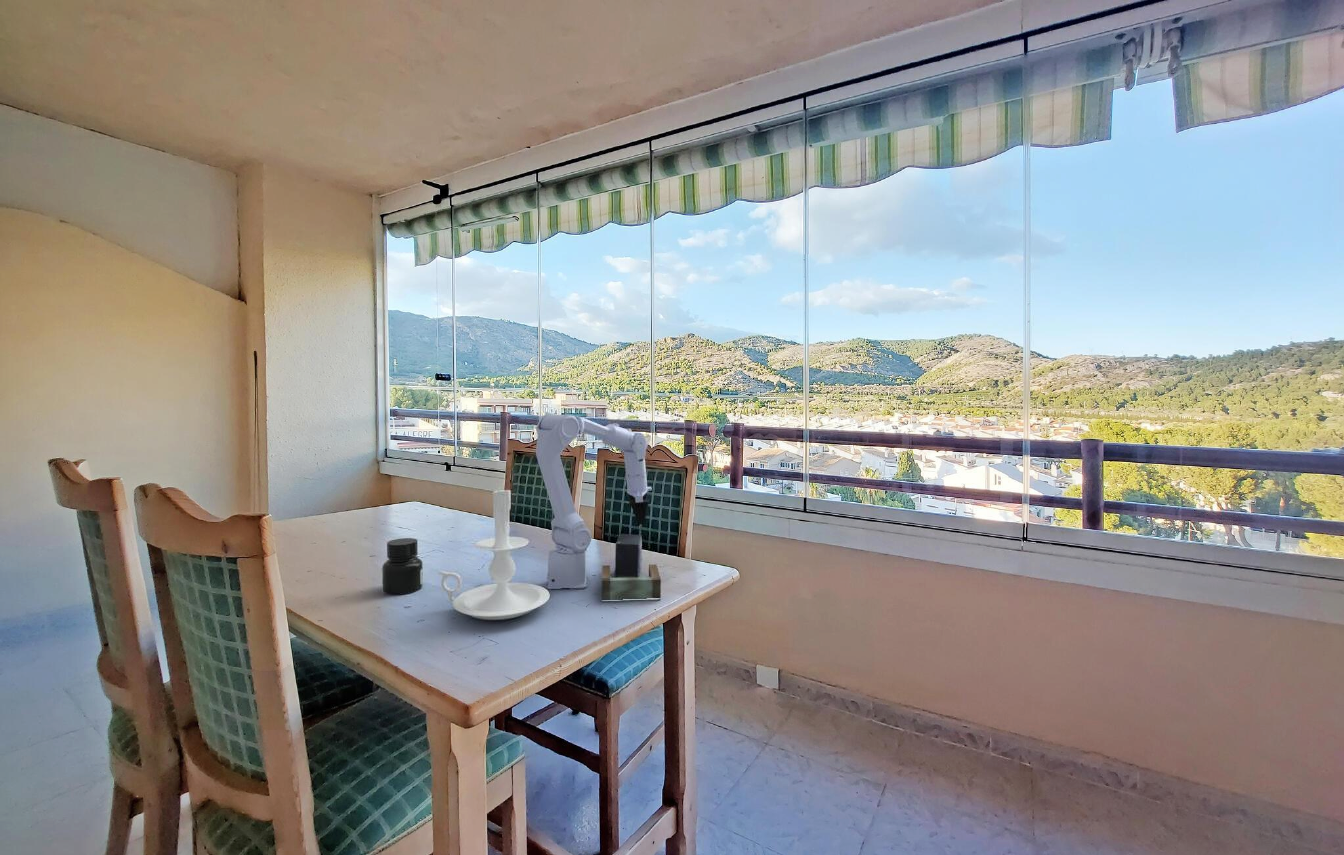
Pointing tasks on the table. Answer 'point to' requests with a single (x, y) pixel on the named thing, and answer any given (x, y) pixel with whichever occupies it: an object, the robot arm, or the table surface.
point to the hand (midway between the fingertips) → (640, 519)
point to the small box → (628, 556)
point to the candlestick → (498, 575)
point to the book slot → (631, 585)
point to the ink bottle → (402, 567)
